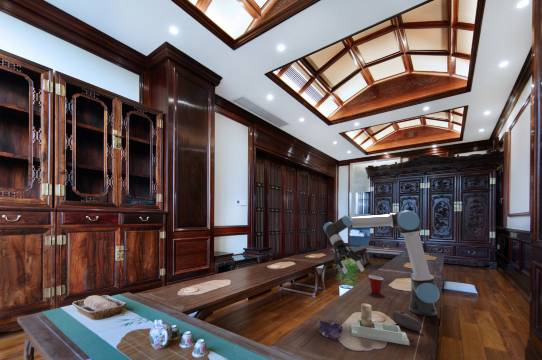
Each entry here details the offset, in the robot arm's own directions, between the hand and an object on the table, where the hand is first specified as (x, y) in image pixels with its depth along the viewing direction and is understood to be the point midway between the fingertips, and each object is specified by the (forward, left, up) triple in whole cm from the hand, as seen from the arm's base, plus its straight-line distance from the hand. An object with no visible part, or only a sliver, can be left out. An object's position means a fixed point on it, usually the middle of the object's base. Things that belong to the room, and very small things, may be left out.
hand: (354, 271), depth 153 cm
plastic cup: (-16, -56, -26) cm, 64 cm away
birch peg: (-5, +20, -24) cm, 32 cm away
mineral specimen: (+12, +26, -26) cm, 39 cm away
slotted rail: (-11, +20, -26) cm, 35 cm away
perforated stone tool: (-27, +4, -26) cm, 38 cm away
